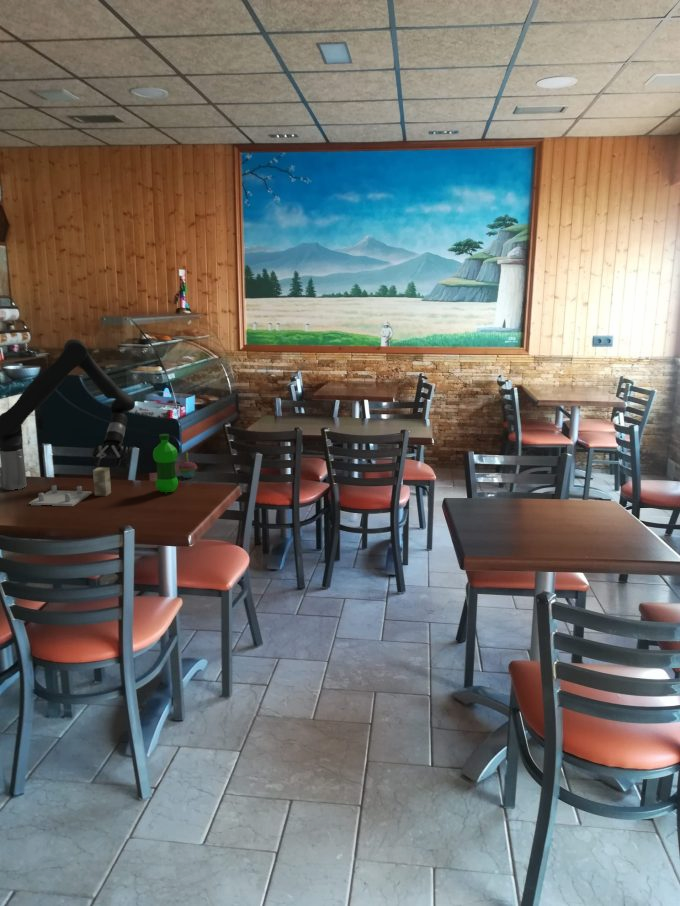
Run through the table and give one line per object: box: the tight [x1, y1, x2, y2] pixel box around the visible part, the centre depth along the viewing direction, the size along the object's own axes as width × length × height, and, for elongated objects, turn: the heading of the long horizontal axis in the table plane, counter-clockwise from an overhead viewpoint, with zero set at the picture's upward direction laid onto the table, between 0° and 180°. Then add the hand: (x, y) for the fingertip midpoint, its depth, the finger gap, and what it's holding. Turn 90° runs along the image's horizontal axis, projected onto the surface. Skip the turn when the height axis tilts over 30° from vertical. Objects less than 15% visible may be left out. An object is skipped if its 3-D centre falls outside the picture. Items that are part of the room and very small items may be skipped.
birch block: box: [92, 466, 112, 497], centre depth 289 cm, size 5×5×11 cm
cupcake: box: [178, 452, 198, 479], centre depth 317 cm, size 9×8×12 cm
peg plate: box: [28, 484, 93, 507], centre depth 282 cm, size 18×18×4 cm
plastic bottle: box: [152, 433, 179, 493], centre depth 291 cm, size 10×10×25 cm
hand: (106, 466), depth 293 cm, fingers open, 8 cm apart
